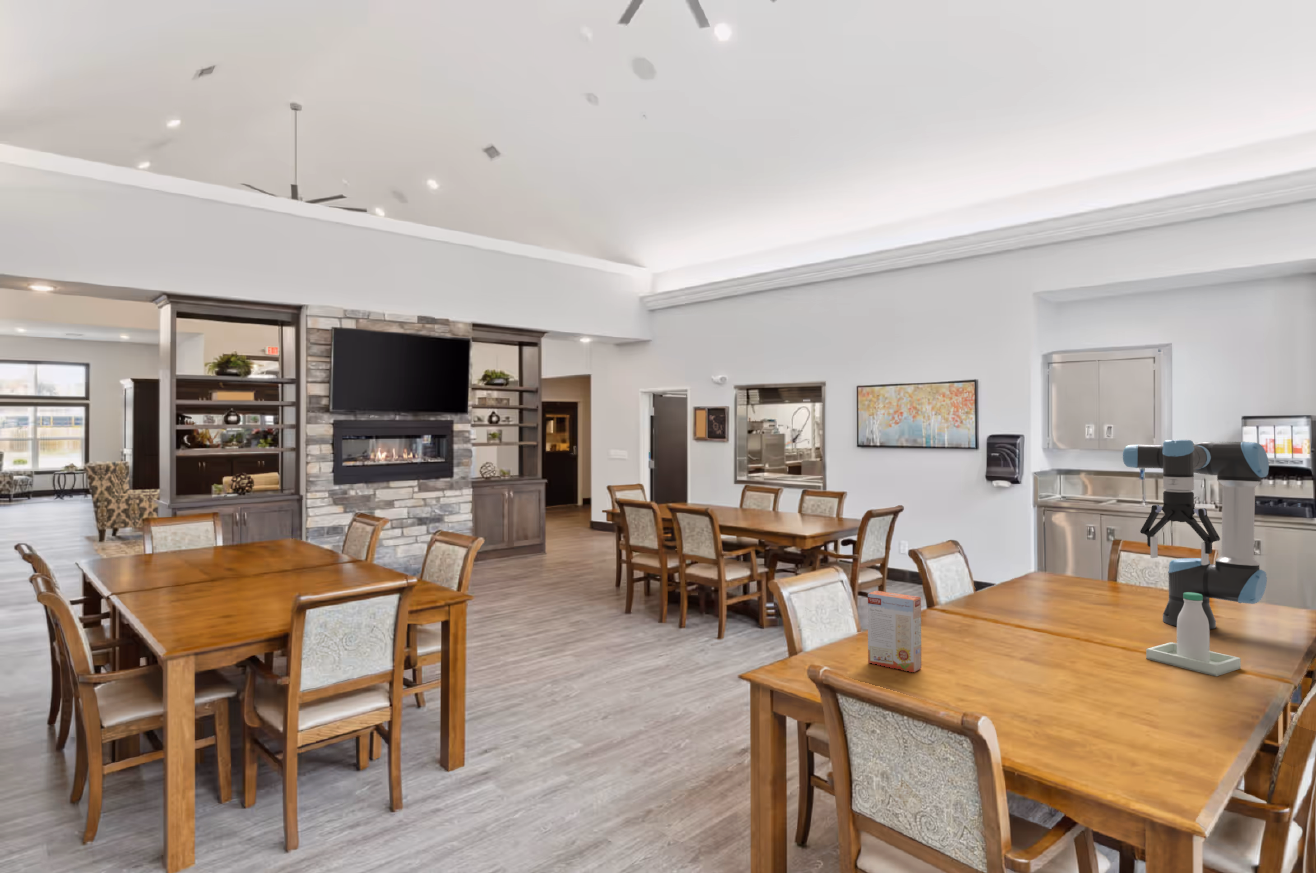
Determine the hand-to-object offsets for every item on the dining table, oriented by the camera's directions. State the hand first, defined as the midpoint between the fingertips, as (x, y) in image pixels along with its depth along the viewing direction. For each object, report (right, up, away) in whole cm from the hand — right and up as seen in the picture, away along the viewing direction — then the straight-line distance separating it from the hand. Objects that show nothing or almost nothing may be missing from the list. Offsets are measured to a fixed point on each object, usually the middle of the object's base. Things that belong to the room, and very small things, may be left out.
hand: (1178, 561), depth 216 cm
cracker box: (-88, -30, -7) cm, 94 cm away
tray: (0, -29, -6) cm, 30 cm away
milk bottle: (0, -29, -6) cm, 29 cm away
